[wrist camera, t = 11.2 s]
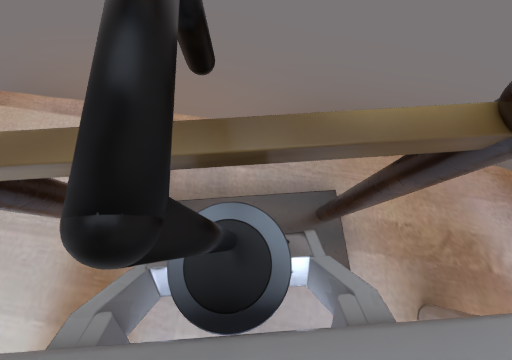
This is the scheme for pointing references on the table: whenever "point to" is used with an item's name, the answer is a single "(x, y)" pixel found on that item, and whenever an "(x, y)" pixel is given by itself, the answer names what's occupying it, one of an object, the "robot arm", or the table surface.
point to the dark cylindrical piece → (163, 177)
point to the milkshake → (440, 313)
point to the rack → (289, 158)
